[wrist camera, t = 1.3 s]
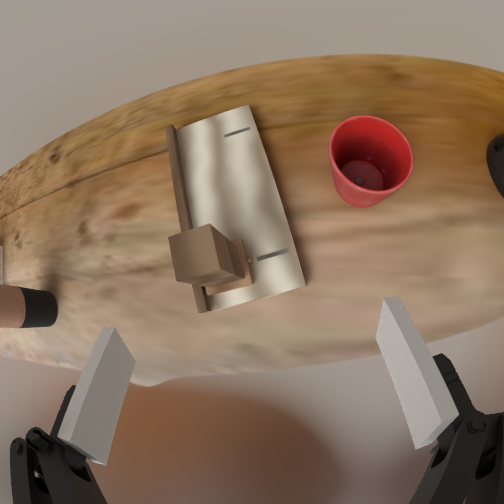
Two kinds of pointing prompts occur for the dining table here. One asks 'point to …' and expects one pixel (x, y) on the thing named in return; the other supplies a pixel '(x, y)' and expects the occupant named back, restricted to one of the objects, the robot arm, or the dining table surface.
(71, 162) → the dining table surface
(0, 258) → the white rectangular planter box
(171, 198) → the dining table surface
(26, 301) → the travel mug
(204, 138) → the birch board
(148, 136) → the dining table surface
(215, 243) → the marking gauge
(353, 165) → the flower pot
